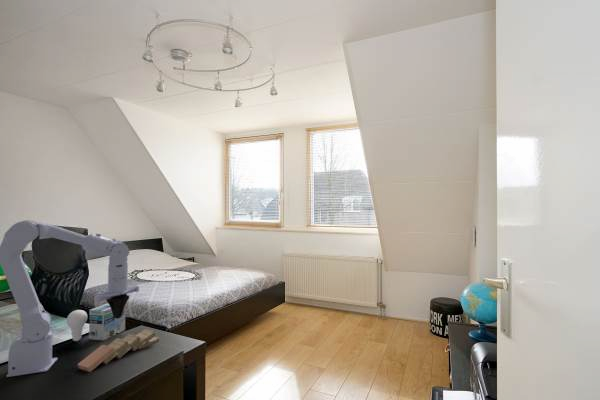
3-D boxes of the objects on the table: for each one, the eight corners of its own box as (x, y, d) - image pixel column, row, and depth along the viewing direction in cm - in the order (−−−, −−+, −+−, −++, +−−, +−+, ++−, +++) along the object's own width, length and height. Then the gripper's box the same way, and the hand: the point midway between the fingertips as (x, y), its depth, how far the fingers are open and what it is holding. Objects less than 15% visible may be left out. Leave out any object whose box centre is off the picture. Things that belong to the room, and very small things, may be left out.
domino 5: (139, 346, 104) (159, 337, 111) (129, 344, 106) (149, 335, 113) (139, 351, 104) (159, 342, 111) (129, 348, 106) (149, 339, 113)
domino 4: (132, 347, 102) (154, 331, 108) (124, 343, 104) (145, 328, 111) (134, 351, 102) (155, 335, 109) (125, 347, 105) (146, 332, 111)
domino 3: (117, 354, 97) (139, 336, 104) (107, 351, 99) (129, 333, 106) (119, 358, 98) (140, 339, 104) (109, 355, 100) (131, 337, 107)
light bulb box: (103, 341, 111) (104, 310, 111) (87, 339, 112) (88, 309, 113) (126, 329, 121) (126, 302, 122) (111, 328, 123) (111, 301, 123)
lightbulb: (75, 337, 114) (75, 307, 114) (91, 337, 114) (91, 307, 114) (61, 344, 108) (62, 313, 108) (78, 344, 108) (79, 313, 108)
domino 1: (88, 367, 89) (113, 347, 96) (77, 364, 91) (102, 344, 98) (90, 372, 90) (114, 351, 97) (79, 368, 92) (104, 348, 99)
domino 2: (104, 360, 94) (127, 340, 100) (93, 357, 96) (117, 338, 102) (106, 364, 94) (128, 344, 101) (95, 361, 96) (118, 341, 103)
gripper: (104, 283, 97) (103, 326, 97) (144, 274, 110) (144, 312, 110) (90, 281, 100) (89, 323, 100) (131, 272, 113) (131, 310, 113)
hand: (117, 317), depth 105 cm, fingers closed
